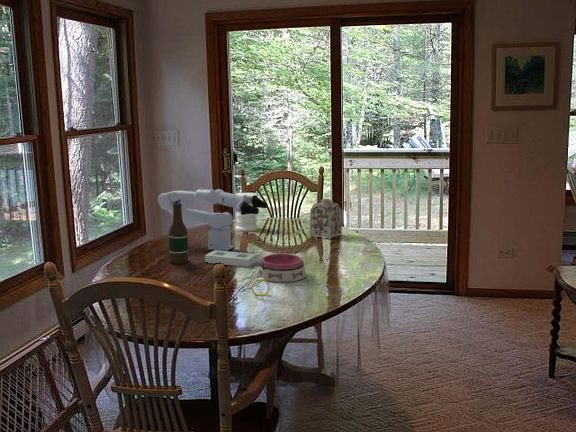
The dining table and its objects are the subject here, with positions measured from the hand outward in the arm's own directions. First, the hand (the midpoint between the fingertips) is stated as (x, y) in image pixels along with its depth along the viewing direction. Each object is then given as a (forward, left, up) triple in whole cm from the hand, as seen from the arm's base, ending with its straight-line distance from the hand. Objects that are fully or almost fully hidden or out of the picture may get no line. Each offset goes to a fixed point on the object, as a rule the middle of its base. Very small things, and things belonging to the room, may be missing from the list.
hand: (262, 208), depth 253 cm
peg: (-6, -7, -20) cm, 22 cm away
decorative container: (-26, +43, -20) cm, 54 cm away
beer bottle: (-27, -24, -20) cm, 41 cm away
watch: (+20, -52, -20) cm, 59 cm away
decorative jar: (+16, +42, -20) cm, 49 cm away
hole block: (-7, -17, -19) cm, 27 cm away
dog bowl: (+19, -28, -20) cm, 40 cm away
